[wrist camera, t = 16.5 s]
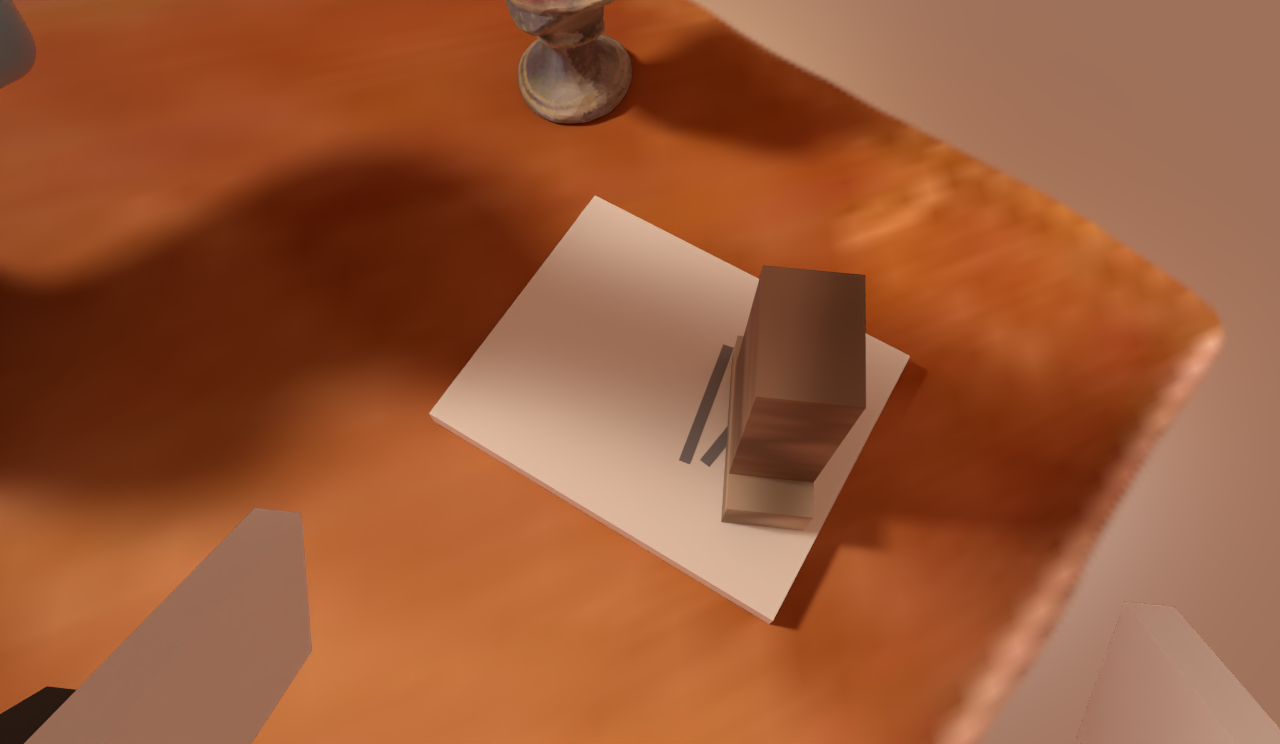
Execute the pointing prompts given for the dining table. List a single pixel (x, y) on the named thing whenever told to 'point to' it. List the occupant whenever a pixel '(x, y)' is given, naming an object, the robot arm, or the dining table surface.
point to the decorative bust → (570, 60)
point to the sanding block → (792, 393)
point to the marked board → (642, 400)
